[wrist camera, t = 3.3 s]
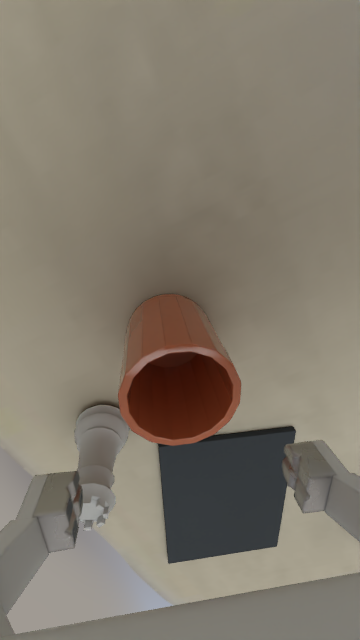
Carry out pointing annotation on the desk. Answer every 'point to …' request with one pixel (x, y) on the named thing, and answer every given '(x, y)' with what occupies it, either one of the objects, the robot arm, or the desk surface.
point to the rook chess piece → (98, 460)
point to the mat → (224, 493)
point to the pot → (175, 373)
